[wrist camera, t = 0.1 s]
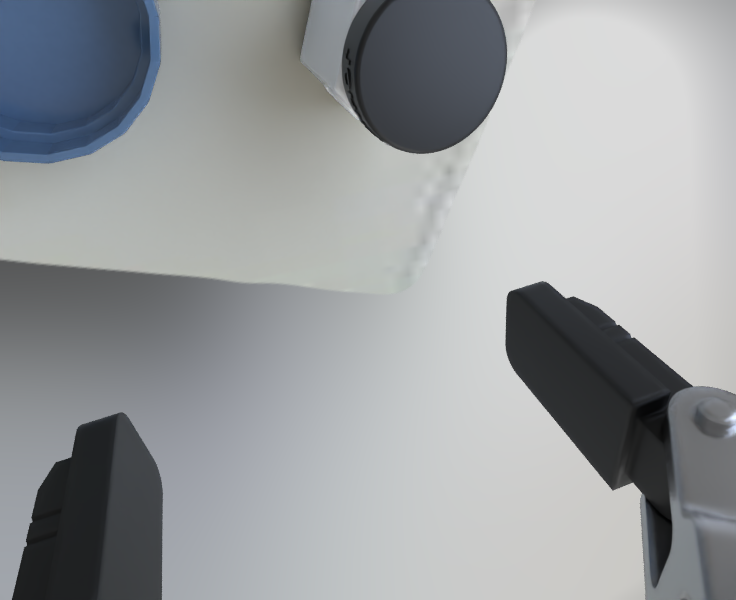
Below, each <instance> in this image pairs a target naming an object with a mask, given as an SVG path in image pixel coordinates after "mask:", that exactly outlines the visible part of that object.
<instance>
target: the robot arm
mask: <svg viewBox="0 0 736 600" xmlns="http://www.w3.org/2000/svg"><path fill="white" fill-rule="evenodd" d="M506 352H507V356H508V359H509V361H510V364H511V365H512V367H513V369H514V371H515V372H516V373H517V375H518V376H519V377H520V378H521V379H522V381H523V382H524V383H525V384H526V386H527V387H528V388H529V389H530V390H531V392H532V393H533V394H534V395H535V397H536V398H537V399H538V400H539V401H540V403H541V404H542V405H543V406H544V407H545V409H546V410H547V411H548V412H549V413H550V415H551V416H552V417H553V418H554V420H555V421H556V422H557V423H558V424H559V426H560V427H561V428H562V429H563V430H564V432H565V433H566V434H567V435H568V437H569V438H570V439H571V440H572V442H573V443H574V444H575V445H576V446H577V448H578V449H579V450H580V451H581V453H582V454H583V455H584V456H585V457H586V459H587V460H588V461H589V462H590V463H591V465H592V466H593V467H594V468H595V470H596V471H597V472H598V473H599V474H600V476H601V477H602V478H603V479H604V481H606V483H607V484H608V485H609V487H610V488H611V489H612V490H615V489H617V488H620V487H623V486H625V485H628V484H630V483H634V484H635V485H636V486H637V488H638V489H639V490H640V491H641V492H642V495H641V499H640V509H641V526H642V541H643V542H642V543H643V559H644V576H645V597H646V598H645V599H646V600H736V395H735V394H733V393H731V392H728V391H725V390H721V389H718V388H713V387H704V386H699V387H693V386H692V385H691V384H689V383H688V382H687V381H686V380H685V379H683V378H682V377H681V376H680V375H679V374H677V373H676V372H675V371H674V370H673V369H671V368H670V367H669V366H668V365H666V364H665V363H664V362H663V361H662V360H661V359H659V358H658V357H657V356H656V355H654V354H653V353H652V352H651V351H650V350H649V349H647V348H646V347H645V346H644V345H643V344H641V343H640V342H639V341H638V340H637V339H635V338H631V336H630V334H629V333H628V332H627V331H626V330H625V329H623V328H622V327H621V326H620V325H616V323H615V321H614V320H612V319H611V318H610V317H609V316H608V315H606V314H605V313H604V312H603V311H602V310H601V309H599V308H598V307H596V306H594V305H592V304H590V303H587V302H584V301H583V300H580V299H578V298H576V297H570V298H567V299H566V298H564V297H563V296H562V295H561V294H560V293H559V292H558V291H556V290H555V289H554V288H553V287H552V286H551V285H550V284H548V283H547V282H543V281H542V282H538V283H535V284H532V285H529V286H525V287H523V288H519V289H516V290H513V291H510V292H509V293H508V296H507V307H506ZM162 498H163V492H162V482H161V477H160V474H159V470H158V467H157V465H156V463H155V461H154V459H153V457H152V456H151V454H150V452H149V451H148V449H147V447H146V446H145V444H144V443H143V441H142V439H141V438H140V436H139V434H138V433H137V431H136V430H135V428H134V426H133V425H132V423H131V421H130V419H129V418H128V417H127V415H126V414H124V413H118V414H114V415H111V416H108V417H105V418H102V419H99V420H95V421H92V422H89V423H86V424H82V425H80V426H79V427H78V429H77V432H76V436H75V442H74V447H73V452H72V457H71V458H68V459H65V460H62V461H59V462H56V463H55V464H54V466H53V468H52V469H51V471H50V472H49V474H48V476H47V477H46V479H45V480H44V482H43V483H42V485H41V486H40V488H39V489H38V493H37V497H36V501H35V505H34V509H33V513H32V521H33V522H32V523H30V526H29V530H28V534H27V539H26V542H27V546H26V547H24V551H23V555H22V560H21V564H20V568H19V572H18V577H17V581H16V585H15V589H14V593H13V598H12V600H162V502H163V499H162Z"/></svg>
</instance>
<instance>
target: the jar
mask: <svg viewBox="0 0 736 600" xmlns="http://www.w3.org/2000/svg"><path fill="white" fill-rule="evenodd" d="M300 60H301V62H302V63H303V64H304V65H305V66H306V67H307V68H308V70H309V71H310V72H311V73H312V74H313V75H314V76H315V77H316V78H317V79H318V80H319V81H320V82H321V83H322V84H323V85H324V86H325V88H326V90H327V91H328V92H329V93H330V94H331V95H332V96H333V97H334V98H335V99H336V100H337V101H338V102H339V103H340V104H341V105H342V106H343V107H344V108H345V109H346V110H347V111H348V112H349V113H350V114H351V115H352V116H353V117H354V118H355V119H357V120H358V119H359V120H360V121H361V123H362V124H364V125H365V127H366V128H367V129H368V130H369V131H370V132H371V133H372V134H373V135H374V136H376V137H377V138H379V139H380V140H381V141H383V142H384V143H385V144H386V145H388V146H392V147H394V148H396V149H399V150H401V151H405V152H409V153H417V154H426V153H434V152H438V151H441V150H444V149H447V148H449V147H452V146H454V145H456V144H457V143H459V142H461V141H462V140H464V139H465V138H466V137H468V136H469V135H470V134H471V133H472V132H473V131H475V130H476V129H477V128H478V126H479V125H480V124H481V123H482V122H483V121H484V119H485V118H486V117H487V115H488V114H489V112H490V111H491V109H492V107H493V106H494V104H495V102H496V100H497V98H498V95H499V93H500V90H501V87H502V84H503V80H504V76H505V71H506V64H507V44H506V37H505V32H504V28H503V25H502V22H501V19H500V17H499V15H498V13H497V11H496V9H495V7H494V6H493V4H492V3H491V2H490V0H312V2H311V7H310V12H309V16H308V21H307V26H306V31H305V36H304V41H303V46H302V51H301V56H300Z"/></svg>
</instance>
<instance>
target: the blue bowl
mask: <svg viewBox="0 0 736 600" xmlns="http://www.w3.org/2000/svg"><path fill="white" fill-rule="evenodd" d="M160 62H161V27H160V9H159V4H158V1H157V0H0V160H3V161H14V162H31V163H54V162H59V161H63V160H67V159H72V158H76V157H81V156H85V155H89V154H92V153H94V152H95V151H97V150H99V149H100V148H102V147H104V146H105V145H107V144H108V143H110V142H112V141H113V140H115V139H116V138H118V137H120V136H121V135H123V134H124V133H125V132H126V131H127V130H128V129H129V127H130V126H131V125H132V123H133V122H134V121H135V120H136V118H137V117H138V116H139V114H140V113H141V112H142V110H143V109H144V108H145V106H146V105H147V104H148V102H149V100H150V96H151V93H152V90H153V86H154V83H155V80H156V76H157V73H158V70H159V66H160Z"/></svg>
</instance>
